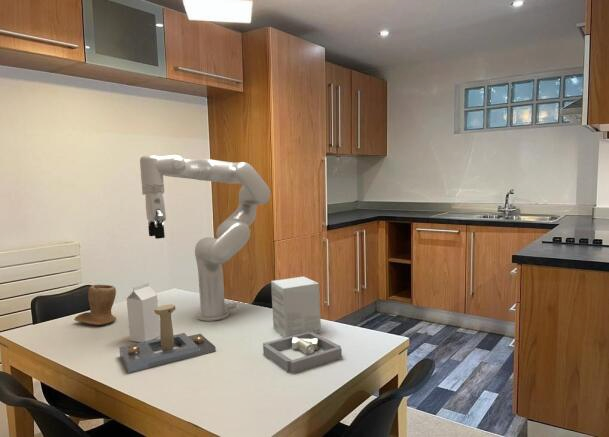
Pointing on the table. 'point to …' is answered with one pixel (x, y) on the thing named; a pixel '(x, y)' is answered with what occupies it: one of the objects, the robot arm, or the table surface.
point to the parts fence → (296, 365)
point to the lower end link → (203, 348)
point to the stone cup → (99, 305)
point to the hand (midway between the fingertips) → (156, 237)
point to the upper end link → (142, 353)
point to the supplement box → (295, 306)
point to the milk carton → (143, 314)
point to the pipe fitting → (305, 344)
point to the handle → (166, 326)
